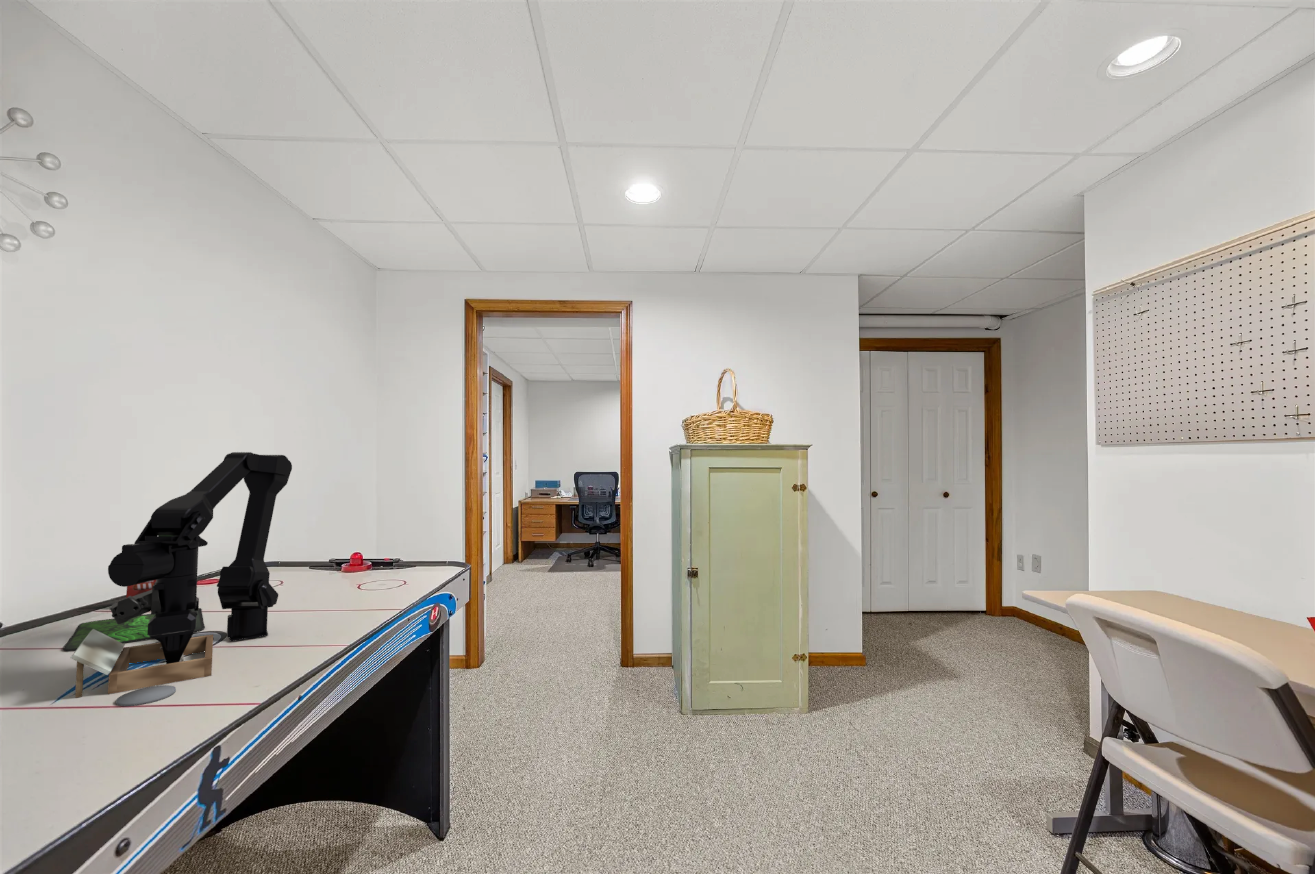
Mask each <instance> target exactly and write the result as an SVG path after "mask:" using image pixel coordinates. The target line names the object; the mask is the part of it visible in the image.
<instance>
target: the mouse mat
mask: <svg viewBox="0 0 1315 874" xmlns="http://www.w3.org/2000/svg"><path fill="white" fill-rule="evenodd" d="M189 610H192V611H194V609H189ZM155 615H156V614H152V615H151V613H145V614H142V615H139V616H137V617H134V618H132V619H129V620H128V621H127V622H125V623H122V624H117V622H116V620H115V618H113V617H112V618H107V619H106V618H105V619H100V620H93V621H86V622H82V623H79V624H78V625H77V627H76V628H75V631H74V632H73V634H72V636H71V637H70V638H69V639H68V641H67V643H65V645H64V646H63V650H64V651H66V652H75V651H76V650H77V648H78V647H79V646H80V644H81V643H82V642H83V641H84V639H85V638H86V637H87V635H88V634H89V633H90V632H91V631H92V630H93V629H94V630H96V631H98V632H101V633H103V634H105V635H107V636H109V637H111V638H113V639H115V640H117V641H119V642H121V643H123V644H128V643H135V642H141V641H148V640H153V639H152V638H150V637H149V636H148V635H147V633H148V623H149V621H150V619H151V618H153V617H154V616H155ZM205 628H206V626H205V622H204V615H203V609H202V608H201V607H199V609H198V614H197V617H196V629H195V631H194V633H198V632H201V631H203V630H204V629H205ZM197 631H198V632H197Z"/></svg>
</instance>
